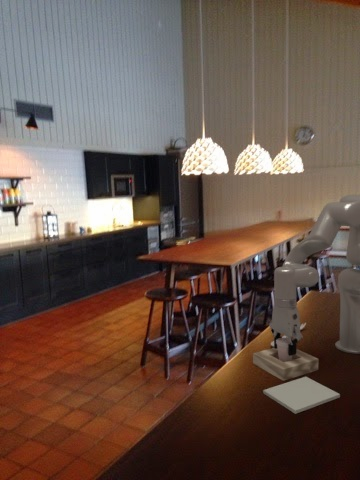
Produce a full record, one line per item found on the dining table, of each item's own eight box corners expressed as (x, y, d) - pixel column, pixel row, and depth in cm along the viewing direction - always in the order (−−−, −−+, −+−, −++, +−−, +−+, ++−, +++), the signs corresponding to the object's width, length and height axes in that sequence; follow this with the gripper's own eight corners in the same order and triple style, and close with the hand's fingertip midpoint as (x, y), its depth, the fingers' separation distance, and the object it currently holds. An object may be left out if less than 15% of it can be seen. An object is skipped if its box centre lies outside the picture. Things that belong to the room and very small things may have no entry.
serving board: (305, 379, 138) (305, 376, 138) (339, 397, 126) (339, 394, 126) (263, 393, 130) (263, 390, 130) (295, 413, 118) (295, 410, 117)
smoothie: (294, 371, 145) (295, 332, 143) (276, 370, 146) (276, 331, 144) (293, 363, 151) (293, 326, 149) (275, 362, 152) (275, 325, 150)
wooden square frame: (286, 354, 159) (286, 344, 159) (318, 369, 145) (318, 358, 145) (253, 363, 152) (253, 353, 151) (283, 380, 138) (283, 369, 137)
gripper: (311, 306, 140) (311, 357, 142) (276, 295, 155) (276, 341, 157) (294, 310, 136) (294, 362, 138) (260, 298, 151) (261, 345, 154)
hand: (285, 350), depth 148 cm, fingers open, 6 cm apart
